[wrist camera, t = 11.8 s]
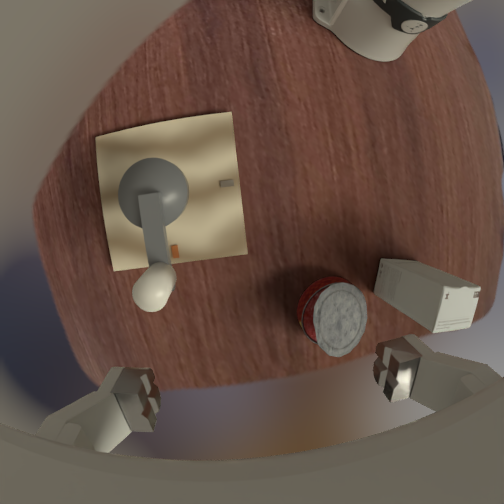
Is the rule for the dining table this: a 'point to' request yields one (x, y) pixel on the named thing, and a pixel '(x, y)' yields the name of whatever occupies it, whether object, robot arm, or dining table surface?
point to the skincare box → (427, 294)
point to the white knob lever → (154, 223)
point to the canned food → (333, 314)
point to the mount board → (199, 180)
